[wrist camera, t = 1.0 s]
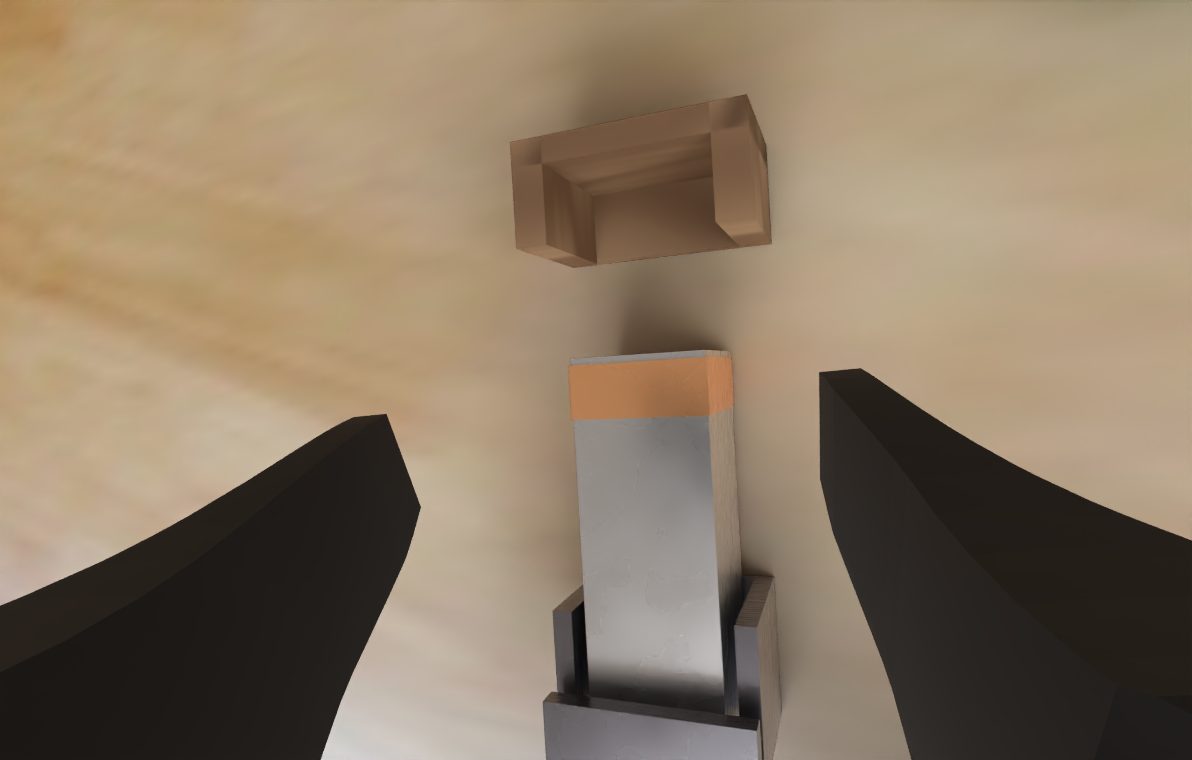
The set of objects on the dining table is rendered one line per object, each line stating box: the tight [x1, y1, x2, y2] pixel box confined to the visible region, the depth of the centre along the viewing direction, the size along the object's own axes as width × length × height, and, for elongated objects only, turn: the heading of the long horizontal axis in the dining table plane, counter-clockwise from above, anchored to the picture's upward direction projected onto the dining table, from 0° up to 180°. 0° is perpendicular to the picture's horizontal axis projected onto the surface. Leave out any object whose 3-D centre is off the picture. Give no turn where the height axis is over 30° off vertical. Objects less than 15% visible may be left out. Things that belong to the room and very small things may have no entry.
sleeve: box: [543, 575, 781, 760], centre depth 20 cm, size 4×6×5 cm
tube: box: [568, 350, 743, 716], centre depth 21 cm, size 12×4×4 cm, turn 4°
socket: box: [510, 94, 772, 268], centre depth 21 cm, size 3×7×4 cm, turn 94°
